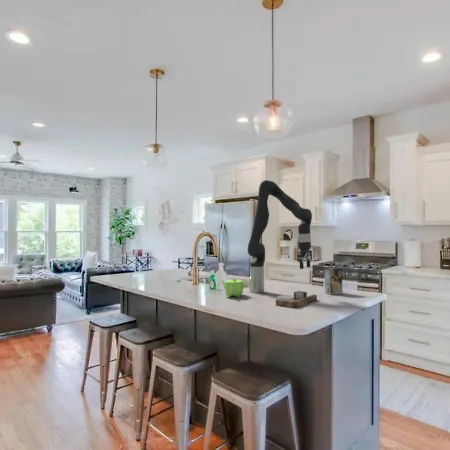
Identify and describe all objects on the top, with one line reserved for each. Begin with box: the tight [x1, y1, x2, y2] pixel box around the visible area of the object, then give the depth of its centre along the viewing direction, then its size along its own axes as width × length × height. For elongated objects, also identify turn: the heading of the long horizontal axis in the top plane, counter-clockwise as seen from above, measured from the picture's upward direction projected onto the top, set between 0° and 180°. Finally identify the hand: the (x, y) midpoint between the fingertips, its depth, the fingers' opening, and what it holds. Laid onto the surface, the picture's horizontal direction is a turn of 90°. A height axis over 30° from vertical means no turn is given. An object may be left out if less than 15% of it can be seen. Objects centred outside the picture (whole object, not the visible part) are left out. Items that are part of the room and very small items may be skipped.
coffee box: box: [323, 267, 343, 296], centre depth 218 cm, size 9×6×16 cm
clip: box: [293, 290, 308, 300], centre depth 200 cm, size 6×5×4 cm
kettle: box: [219, 277, 248, 298], centre depth 216 cm, size 15×14×11 cm
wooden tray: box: [275, 294, 318, 309], centre depth 192 cm, size 12×26×3 cm, turn 140°
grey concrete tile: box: [274, 294, 294, 300], centre depth 206 cm, size 10×8×1 cm
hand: (305, 268), depth 205 cm, fingers open, 8 cm apart
